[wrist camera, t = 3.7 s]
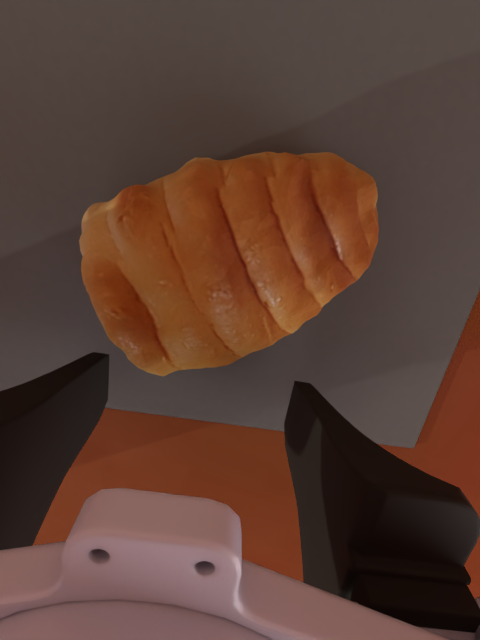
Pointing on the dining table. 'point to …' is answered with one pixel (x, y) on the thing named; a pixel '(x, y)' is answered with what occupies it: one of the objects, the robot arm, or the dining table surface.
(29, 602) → the robot arm
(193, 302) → the pastry
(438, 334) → the placemat
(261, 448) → the dining table surface
